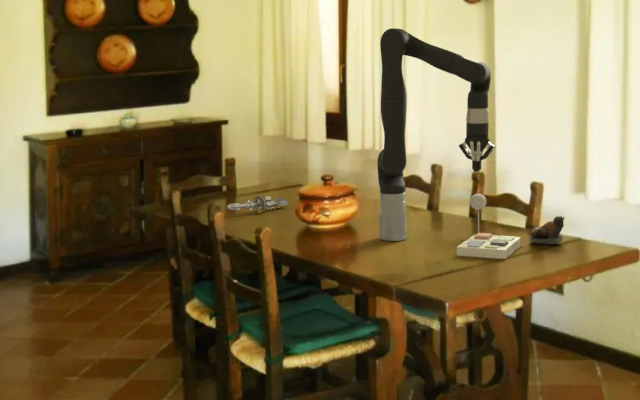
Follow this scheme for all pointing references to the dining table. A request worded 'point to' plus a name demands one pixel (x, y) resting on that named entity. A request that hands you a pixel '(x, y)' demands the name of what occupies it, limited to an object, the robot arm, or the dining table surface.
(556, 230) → the brown cat figurine
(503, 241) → the key charcoal
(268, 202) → the spaceship
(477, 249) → the keypad
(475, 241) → the key slate
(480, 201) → the lollipop
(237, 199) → the dining table surface
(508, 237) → the key sage
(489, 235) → the key terracotta
